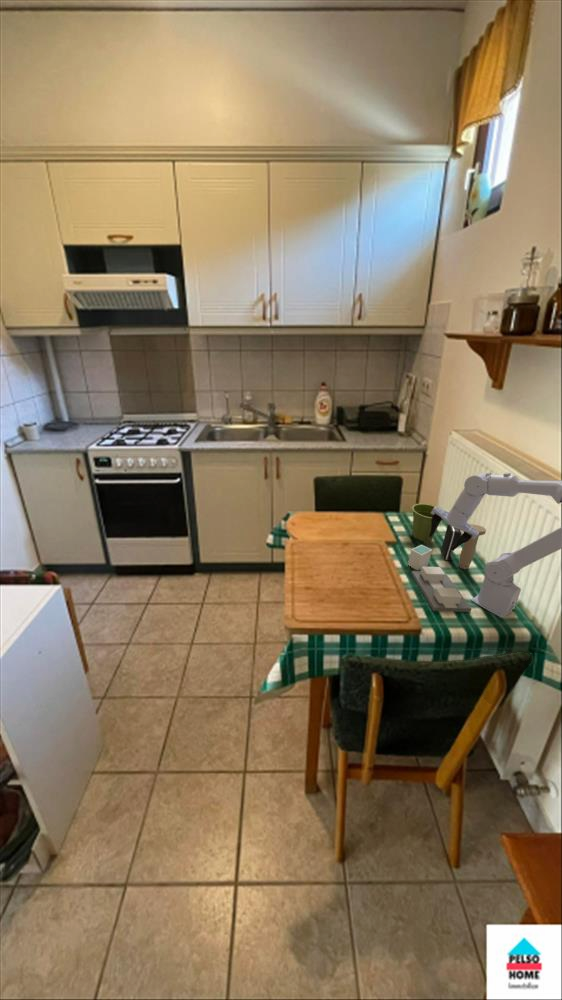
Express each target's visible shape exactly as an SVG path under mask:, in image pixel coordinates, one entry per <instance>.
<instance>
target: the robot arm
mask: <svg viewBox="0 0 562 1000" xmlns="http://www.w3.org/2000/svg"><path fill="white" fill-rule="evenodd" d="M519 493H520V494H530V495H540V496H546V497H547V496H549V497H551V498H552V499H553V500H554V501H555V502H556V503H557V504H558V505H560V504H562V480H538V479H537V480H535V479H534V480H533V479H532V480H527V479H526V480H523V479H520V478H519V477H518V476H517V475H513V474H511V472H505V473H503V474H492V472H486V473H485V472H479V473H476V474H474V475H471V476H468V477H467V478H466V479H465V481H464V488H463V490H462V491H461V492H460V494H459V496H458V497H457V499H456V500H455V502H454V504H453V505H452V507H451V509H450V510H449V511H446V510H444V509H442V508H440V507H438V506H436V507H434V508H433V510H432V512H431V514H433V515H434V516H433V517H432V519H431V532H430V535H429V537H432V535H433V534H434V533H435V534H436V532H435V531H437V530H436V529H438V527H439V525H440V524H441V522H442V520H443V521H445V522H446V523H447V525H449V524H450V525H451V526H453V527H455V528H457V529H460V531H461V532H463V533H461V537H460V539H459V540H458V542H457V543H456V544H455V545H454V547H453V548H452V549H451V550H452V551H451V552H454V551H455V550H456V549H457V548H458V547H459V546H461V545H464V543H465V542H467V541H469V540H470V538H473V539H475V538H476V537H477V535H478V534H479V532H478V531H477V530H475V529H474V528H473V527H472V526H470V525H469V523H468V522H469V520H470V518H471V516H472V515H473V514H474V512H475V511H476V509H477V508H478V506H479V504H480V503H481V501H482V500H483V498H484V497H485V495H488V496H497V497H499V496H500V497H512V498H513V497H515V496H517V495H518V494H519ZM437 507H438V508H437ZM439 508H440V509H439ZM435 534H434V535H435ZM561 549H562V526H560V527H559V528H556V529H555V530H552V531H550V533H547V534H546V535H543V536H542V537H539V538H538V539H536V540H534V541H532V542H530V543H529V544H527V545H525V546H523V547H521V548H520V549H516V550H515V551H513V552H505V553H502V554H500V555H499V556H498V557H496V558H495V559H493V560H492V561H490V562H487V563H486V564H485V566H484V577H483V581H482V584H481V586H480V590H479V592H478V594H477V595H476V596H475V597H473V598H472V599H471V602H473V603H474V604H476V605H478V606H480V607H482V608H483V609H485V610H487V611H488V612H491V614H494V615H495V616H498V617H499V618H501V619H504V618H505V617H507V616H508V615H509V614H510V613H511V612H513V611H514V610H516V609H515V607H516V604H517V602H518V600H519V596H520V594H521V587H519V586H518V585H516V584H515V582H514V580H515V579H514V575H516V574H518V573H519V572H520V571H521V570H522V569H523V568H525V567H527V566H529V565H531V564H533V563H535V562H537V561H540V560H541V559H543V558H545V557H548V556H549V555H552V554H553V553H555V552H557V551H560V550H561ZM513 609H514V610H513ZM512 610H513V611H512Z"/></svg>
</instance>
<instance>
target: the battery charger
mask: <svg viewBox="0 0 562 1000" xmlns="http://www.w3.org/2000/svg"><path fill="white" fill-rule="evenodd" d="M444 534H445V535H444V538H443V541H442V544H441V548H440V551H441V555H442V559H444V560H445V561H453V558H454V556H453V553H452V552H453V551H452V550H451V549H452V548H453V547H454V545H455V544H456V543H457V542H458V540H459V539H460V537H461V536H462V531H461V530H460V529H457V528H455V527H453V526H451V525H450V524H447V527H446V531H445V533H444Z"/></svg>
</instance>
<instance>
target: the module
mask: <svg viewBox="0 0 562 1000" xmlns="http://www.w3.org/2000/svg"><path fill="white" fill-rule="evenodd" d="M432 551H433V549H432V548H430V547H428V546H425V545H424V544H420V545H418V546H416V547H414V548H412V549H410V554H409V558H408V561H407V566H408V565H409V566H408V567H410V566H411V568H412V569H414V570H415V571H417V570H418V571H421V567H422V566H424V567H429V563H430V559H431V555H432V553H433V552H432Z"/></svg>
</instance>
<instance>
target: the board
mask: <svg viewBox="0 0 562 1000" xmlns="http://www.w3.org/2000/svg"><path fill="white" fill-rule="evenodd" d="M411 576H412V577H413V580H414V581H415V583H416V584H417V586H418V587H419V590H420V591H421V593H422V594H423V596H424V597H425V600H426V601H427V603H428V604H429V606H430V608H431V609H432V611H433V612H457V613H459V612H460V613H461V612H462V613H471V612H472V607H471V606H470V604H469V603H468V602H467V600H466V599H465V597H464V596H463V594H462V593H461V591H459V589H458V588H457V586H456V585H455V583H454V582H453V581H452V579H451V578H450V577H449V576H448V574H447V572H446V571H443V569H442V567H440V566H426V567H424V566H422V567H421V569H420V570H418V571H417V570H412V571H411Z"/></svg>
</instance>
